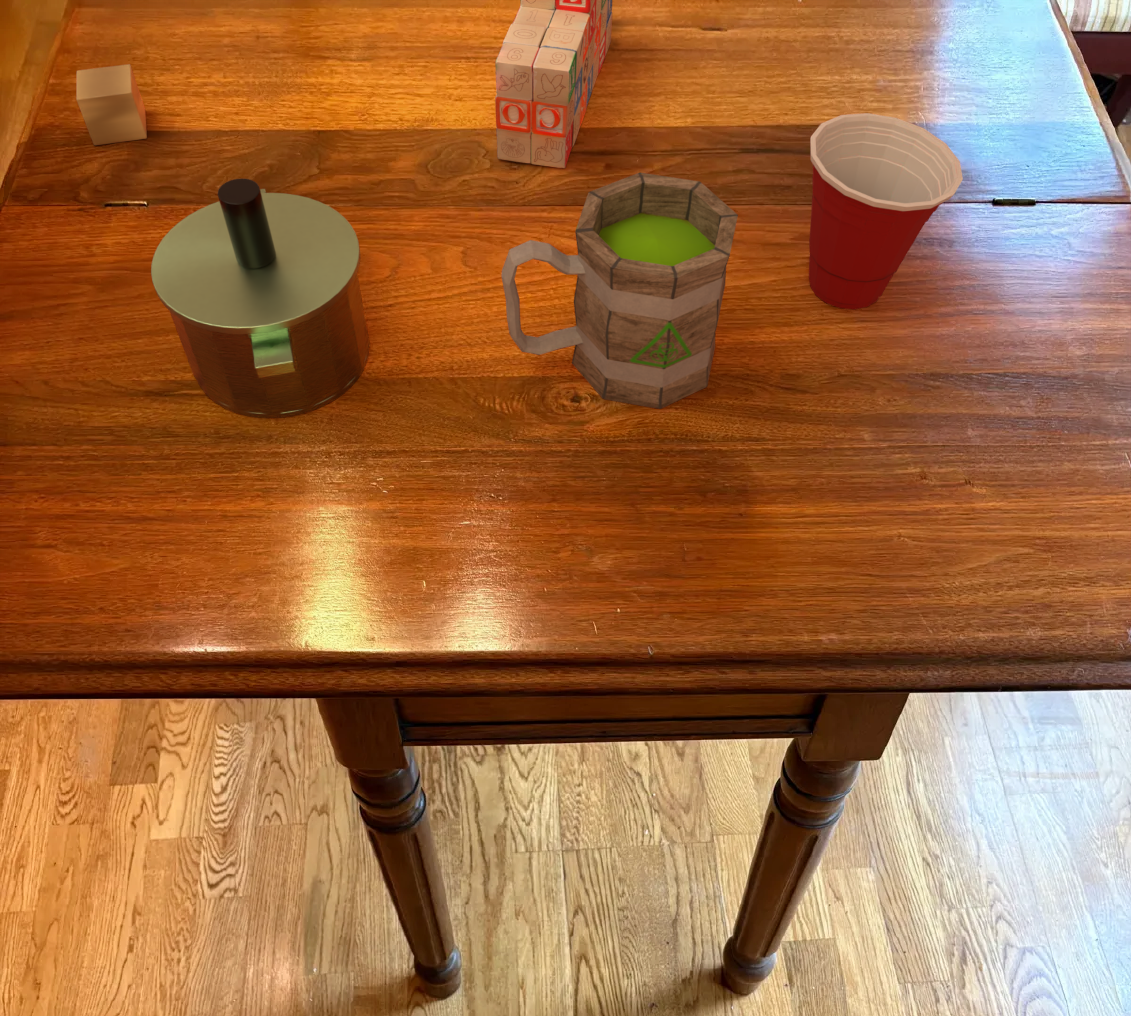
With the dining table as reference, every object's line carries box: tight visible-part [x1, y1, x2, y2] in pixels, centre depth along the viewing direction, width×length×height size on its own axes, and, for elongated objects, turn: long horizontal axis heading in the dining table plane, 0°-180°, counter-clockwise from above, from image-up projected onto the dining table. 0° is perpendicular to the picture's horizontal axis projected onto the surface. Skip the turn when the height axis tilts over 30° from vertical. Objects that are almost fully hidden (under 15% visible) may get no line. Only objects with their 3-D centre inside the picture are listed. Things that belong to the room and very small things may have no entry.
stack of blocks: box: [494, 0, 613, 169], centre depth 94 cm, size 21×6×12 cm, turn 168°
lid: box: [150, 178, 361, 334], centre depth 70 cm, size 14×14×6 cm
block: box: [75, 63, 148, 146], centre depth 93 cm, size 4×4×4 cm
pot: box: [169, 188, 371, 419], centre depth 75 cm, size 13×18×8 cm
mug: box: [501, 172, 739, 410], centre depth 74 cm, size 16×11×12 cm
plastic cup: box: [808, 112, 964, 310], centre depth 80 cm, size 11×11×12 cm
